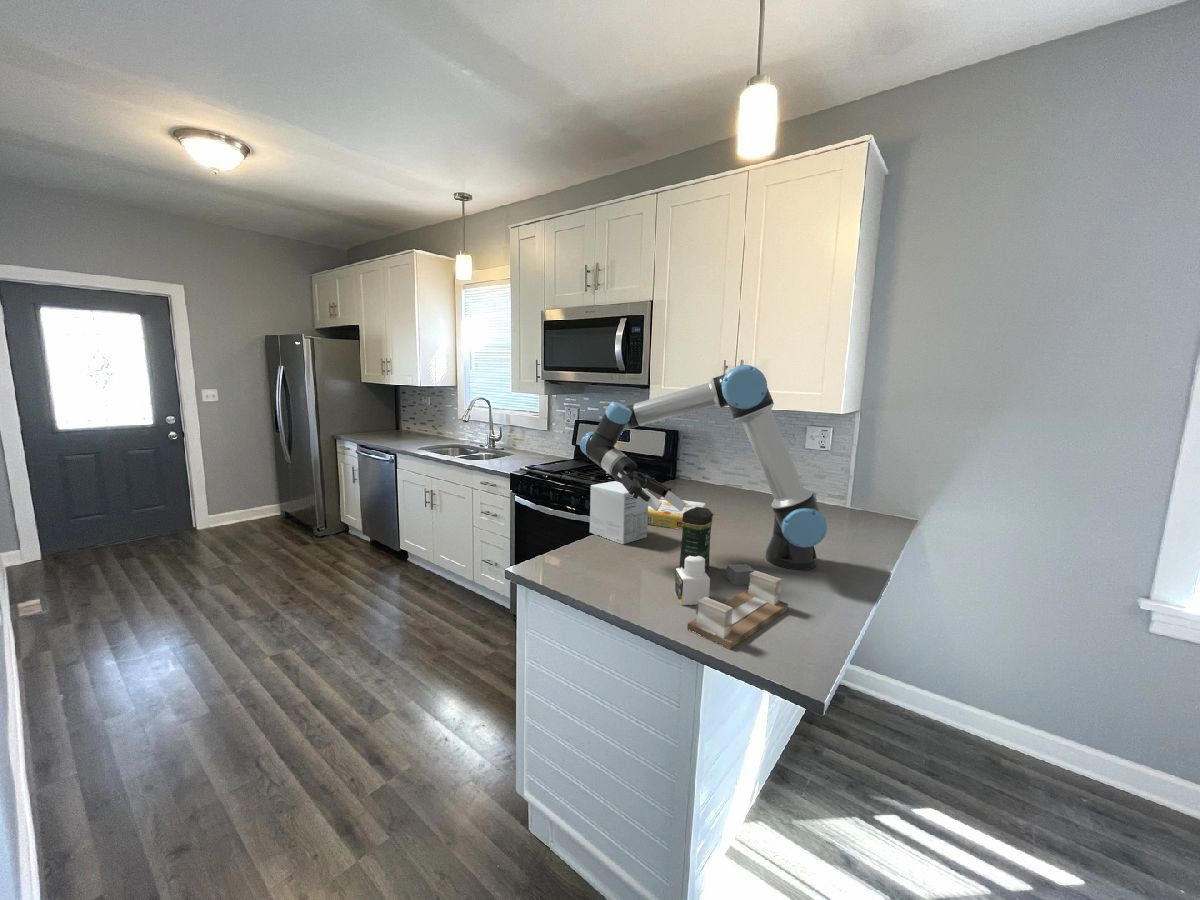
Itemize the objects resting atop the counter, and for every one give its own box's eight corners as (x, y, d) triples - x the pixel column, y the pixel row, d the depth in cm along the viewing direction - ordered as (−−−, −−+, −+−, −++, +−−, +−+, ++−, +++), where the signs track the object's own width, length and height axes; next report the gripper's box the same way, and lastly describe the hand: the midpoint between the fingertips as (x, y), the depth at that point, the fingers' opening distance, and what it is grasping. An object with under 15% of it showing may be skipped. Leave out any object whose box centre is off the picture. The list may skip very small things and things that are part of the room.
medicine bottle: (674, 593, 128) (676, 550, 126) (700, 592, 129) (703, 549, 127) (681, 605, 121) (683, 560, 119) (708, 605, 122) (711, 559, 120)
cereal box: (640, 510, 188) (660, 495, 214) (639, 524, 189) (659, 507, 214) (691, 518, 180) (706, 501, 206) (690, 533, 181) (705, 514, 207)
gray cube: (746, 577, 140) (747, 564, 139) (754, 584, 135) (755, 571, 135) (726, 578, 139) (727, 565, 138) (734, 585, 134) (735, 572, 134)
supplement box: (648, 537, 173) (650, 488, 171) (623, 545, 164) (624, 493, 161) (613, 526, 186) (615, 480, 183) (588, 533, 176) (589, 484, 174)
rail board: (747, 594, 128) (749, 567, 127) (787, 609, 120) (790, 580, 119) (687, 629, 110) (688, 598, 108) (730, 649, 102) (732, 616, 101)
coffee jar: (701, 577, 139) (704, 514, 136) (675, 570, 143) (678, 510, 141) (712, 566, 147) (716, 507, 144) (688, 560, 151) (691, 503, 149)
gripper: (636, 479, 155) (685, 518, 143) (588, 474, 135) (640, 518, 123) (647, 459, 153) (698, 497, 141) (600, 451, 134) (654, 494, 122)
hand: (671, 507), depth 132 cm, fingers open, 13 cm apart
